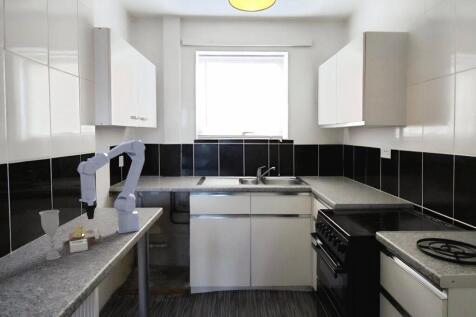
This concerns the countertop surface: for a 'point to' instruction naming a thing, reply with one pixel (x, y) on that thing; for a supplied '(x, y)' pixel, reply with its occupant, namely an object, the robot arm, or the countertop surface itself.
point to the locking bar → (93, 234)
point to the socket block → (89, 239)
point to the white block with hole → (78, 245)
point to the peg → (79, 232)
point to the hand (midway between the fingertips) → (90, 218)
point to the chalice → (50, 229)
